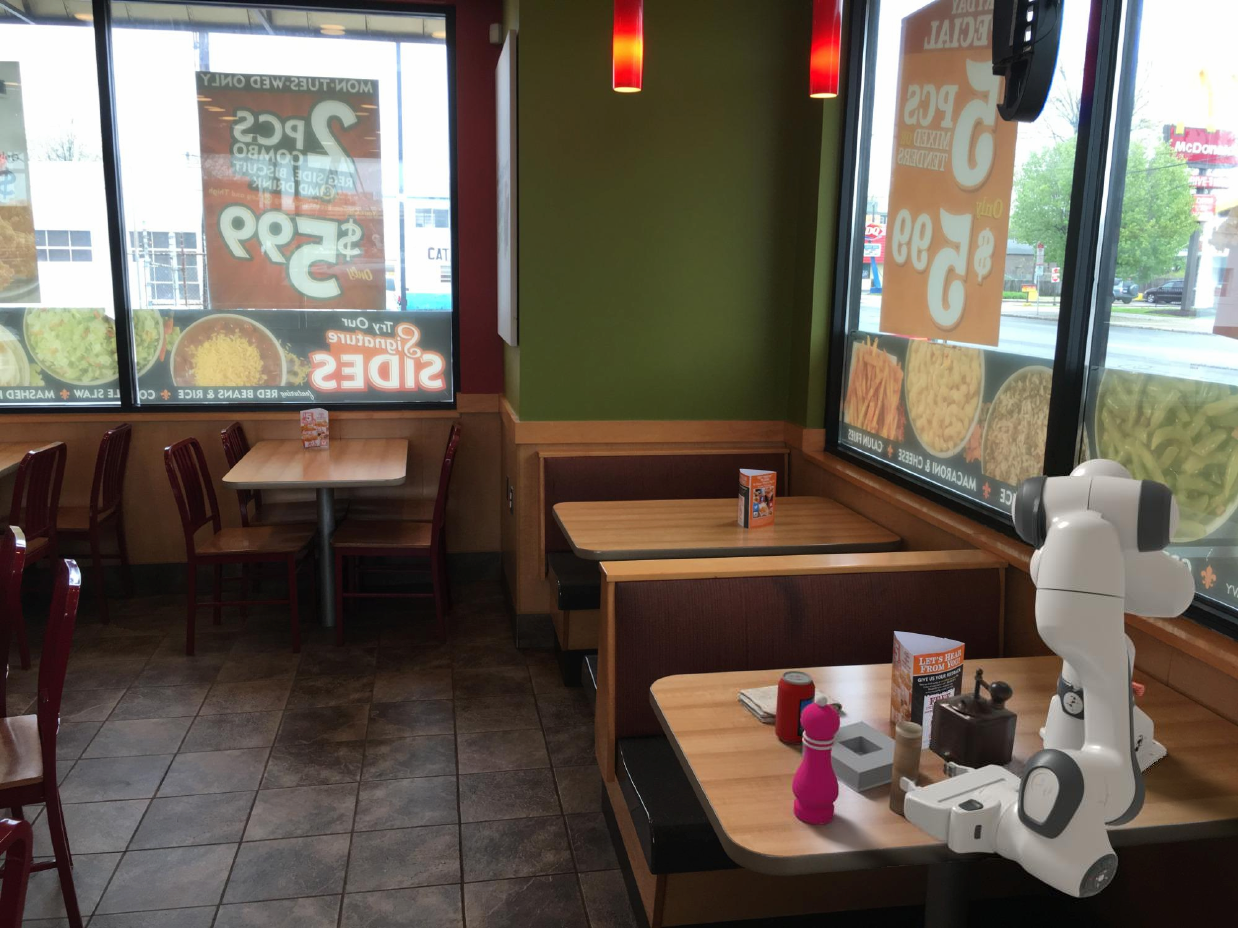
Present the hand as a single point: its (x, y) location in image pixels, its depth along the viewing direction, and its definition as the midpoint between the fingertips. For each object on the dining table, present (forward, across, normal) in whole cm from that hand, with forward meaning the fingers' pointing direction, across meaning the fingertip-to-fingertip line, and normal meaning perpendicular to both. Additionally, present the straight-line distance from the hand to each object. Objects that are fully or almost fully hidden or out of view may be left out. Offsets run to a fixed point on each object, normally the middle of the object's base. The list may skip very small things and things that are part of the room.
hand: (925, 773), depth 149 cm
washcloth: (+42, -8, +9) cm, 44 cm away
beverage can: (+31, 0, +8) cm, 32 cm away
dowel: (+4, 0, +8) cm, 9 cm away
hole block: (+18, -4, +8) cm, 20 cm away
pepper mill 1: (+9, +14, +8) cm, 19 cm away
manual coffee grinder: (+9, -24, +8) cm, 27 cm away
